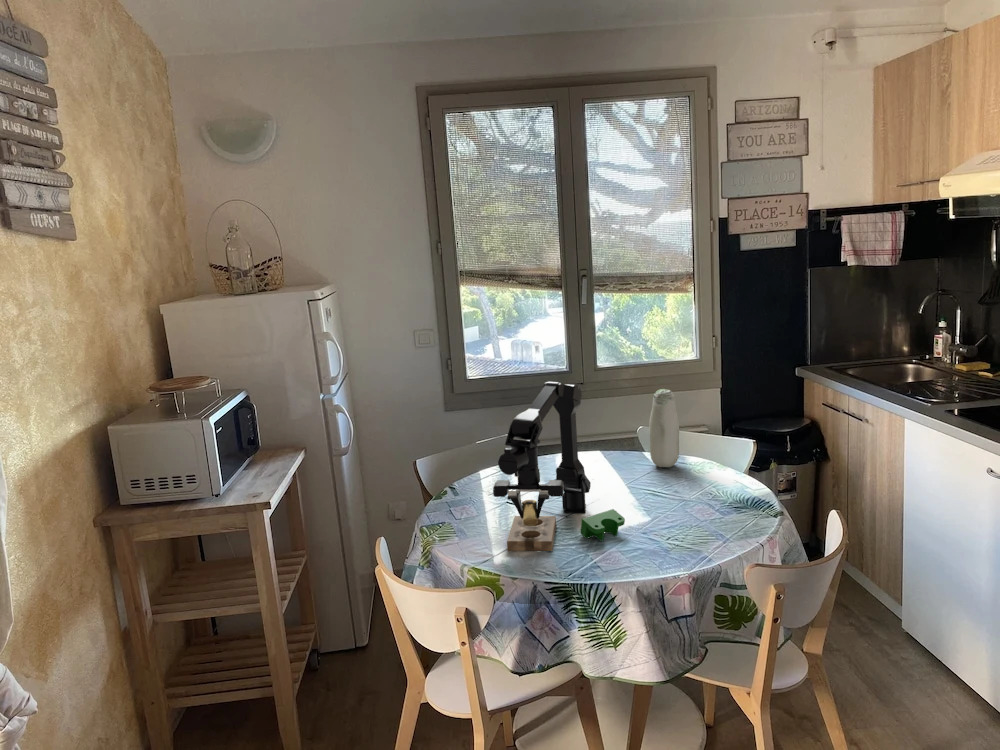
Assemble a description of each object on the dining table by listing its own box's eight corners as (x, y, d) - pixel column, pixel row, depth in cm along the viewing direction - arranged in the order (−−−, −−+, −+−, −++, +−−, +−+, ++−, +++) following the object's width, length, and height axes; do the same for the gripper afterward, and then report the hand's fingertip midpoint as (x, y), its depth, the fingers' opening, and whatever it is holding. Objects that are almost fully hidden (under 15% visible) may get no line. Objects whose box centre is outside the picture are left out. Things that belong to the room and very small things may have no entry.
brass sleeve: (538, 520, 203) (537, 499, 202) (537, 526, 199) (536, 504, 198) (523, 520, 203) (522, 499, 202) (522, 526, 200) (521, 504, 198)
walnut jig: (556, 525, 214) (555, 516, 214) (552, 551, 197) (551, 541, 196) (515, 525, 216) (514, 515, 215) (507, 551, 199) (507, 541, 198)
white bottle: (648, 462, 266) (647, 386, 260) (677, 462, 264) (676, 385, 259) (651, 471, 256) (650, 393, 250) (681, 470, 255) (680, 392, 249)
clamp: (597, 555, 203) (590, 533, 198) (583, 543, 208) (577, 522, 203) (629, 531, 207) (624, 509, 202) (616, 520, 212) (610, 498, 207)
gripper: (563, 453, 204) (565, 506, 207) (497, 454, 207) (500, 507, 210) (561, 466, 194) (563, 522, 197) (491, 467, 196) (494, 522, 199)
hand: (530, 518), depth 201 cm, fingers closed on brass sleeve, 4 cm apart
